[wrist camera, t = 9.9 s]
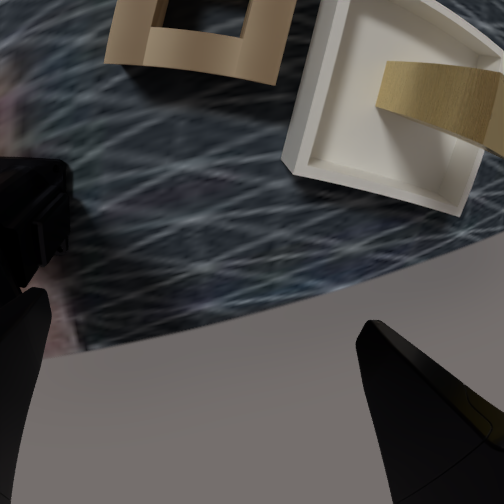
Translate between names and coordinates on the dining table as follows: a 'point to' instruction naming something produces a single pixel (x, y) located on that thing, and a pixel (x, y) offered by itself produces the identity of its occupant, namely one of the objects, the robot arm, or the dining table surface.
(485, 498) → the robot arm
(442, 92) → the pin
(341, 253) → the dining table surface
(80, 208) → the dining table surface
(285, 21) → the block
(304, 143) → the tray
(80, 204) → the dining table surface
